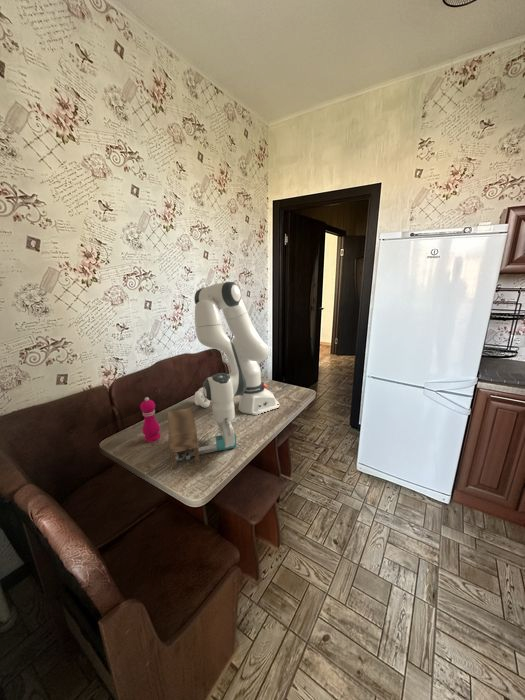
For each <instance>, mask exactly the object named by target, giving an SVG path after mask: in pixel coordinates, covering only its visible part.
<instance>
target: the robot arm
mask: <svg viewBox="0 0 525 700" xmlns="http://www.w3.org/2000/svg"><path fill="white" fill-rule="evenodd" d="M193 301H194V304H195V306H194V326H195V333H196V338H197V340H198V342H199V343H200V344H201V345H203V346H205V347H207V348H210V349H215V350H219V351H221V352H223V353H224V354H225V356H226V360H227V362H228V365H229V368H230V373H225V372H221V373H220V372H218V373H216V374H214V375H212V376H209V377H206V378H205V380H204V381H203V382H202V387H203V391H204V397H205V398H207V399H208V400H210V401H212V402H211V403H212V407H211V409H212V410H211V411H212V420H213V421H214V422H215V423H216V424H217V427H218V430H219V433H220V435H222V438H223V441H224V445H225V448H227V447H229V446H233V445H234V444H235V439H234V433H235V431H234V428H233V427H234V426H233V425H232V422H233V420H234V419H235V417H236V412H235V403H234V398H235V397H237V396H239V404H238V408H237V409H238V411H239V412H241V413H243V414H249V415H253V416H259V415H262V414H261V413H263V414H265V413H264V412H266V413H268V412H267V411H269V412H271V411H270V410H272V409H275V408H278V407H279V406H280V405H281V404H280V402H279V401H278V400H277V399H276V398H275V395H274V394H273V392H272V391H271V390H269V389H267V388H268V385H267V384H266V383H264V382H263V381H262V376H261V375H262V372H261V367H260V365H259V364H258V362H261V363H262V362H264V361H265V360H266V359H267V358H268V357H269V354H270V348H269V346H268V344H267V343H265V341H264V340H263V339H262V338H261V336H260V335H259V333H258V331H257V330H256V329H255V327H254V325H253V323H252V320H251V318H250V315H249V312H248V310H247V307H246V305H245V303H244V300H243V299H242V291H241V288H240V287H239V285H238V284H236V282H233V281H225V282H219V283H214V284H211V285H208V286H206V287H201V288H199V289H198V290H196V292H195V293H194V300H193ZM221 310H222V313H223V316H224V318H225V321H226V323H227V326H228V328H229V331H230V333H231V334H232V336H234V337H233V339H232V338H231V336H229V335H227V334H226V332H225V331H224V328H223V321H222V316H221ZM277 404H279V405H277ZM280 407H281V406H280ZM258 414H259V415H258Z"/></svg>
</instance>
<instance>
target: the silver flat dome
mask: <svg viewBox="0 0 525 700" xmlns="http://www.w3.org/2000/svg"><path fill="white" fill-rule="evenodd" d="M175 456H176V463H177V462H178V463H179V462H182V461H184V460H186V455H185V451H184V452H183V451H178V452H175Z"/></svg>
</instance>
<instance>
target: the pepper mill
mask: <svg viewBox="0 0 525 700" xmlns="http://www.w3.org/2000/svg"><path fill="white" fill-rule="evenodd" d="M155 409H156V403H155V402H154V400H152V399H150V398H149V397H148V396H147V397H144V400H143V401H142V402H141V403H140V410H141V412H142V416H143V417H144V421H143V426H142V434H143V435H144V441H147V443H153V442H156V441H158V440H159V439H160V437H161V434H160V431H161V426H160V424H159V423H158V422H157V420H156V418H155V413H156V410H155Z"/></svg>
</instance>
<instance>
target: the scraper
mask: <svg viewBox="0 0 525 700" xmlns="http://www.w3.org/2000/svg"><path fill="white" fill-rule="evenodd" d="M234 439H235V444H234V445H233V446H229V447H227V448H225V445H224V441H223V438H222V435H221V434H220V435H215V444H214V443H213V444H211V445H205V446H201V447H199V446H198V451H199V455H205V454H209V453H214V452H220V451H225V450H229V449H234V448H237V436H236V433H235V432H234ZM184 453H185V455H186V458H185V460H186V461H187V460H191V457H195V453H194V448H192V449H188V450H184Z"/></svg>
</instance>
